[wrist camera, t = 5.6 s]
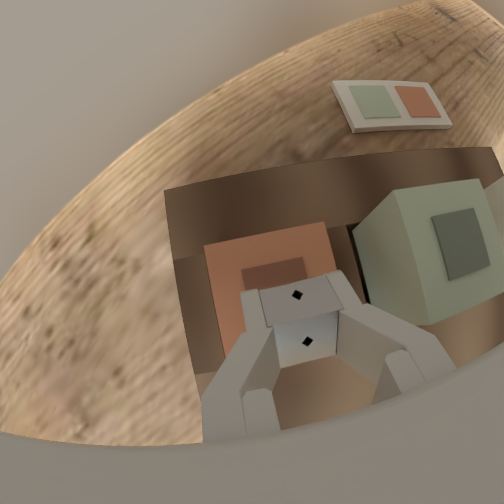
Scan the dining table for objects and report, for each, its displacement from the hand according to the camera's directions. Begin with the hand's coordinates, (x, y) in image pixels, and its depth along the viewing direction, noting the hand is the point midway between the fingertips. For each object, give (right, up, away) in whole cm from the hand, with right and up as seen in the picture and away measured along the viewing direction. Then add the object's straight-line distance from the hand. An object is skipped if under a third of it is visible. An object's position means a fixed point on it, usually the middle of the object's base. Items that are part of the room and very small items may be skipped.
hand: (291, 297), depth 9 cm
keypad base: (+6, 0, +7) cm, 9 cm away
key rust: (0, -1, +6) cm, 6 cm away
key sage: (+6, +1, +4) cm, 7 cm away
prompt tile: (+9, +12, +10) cm, 18 cm away
